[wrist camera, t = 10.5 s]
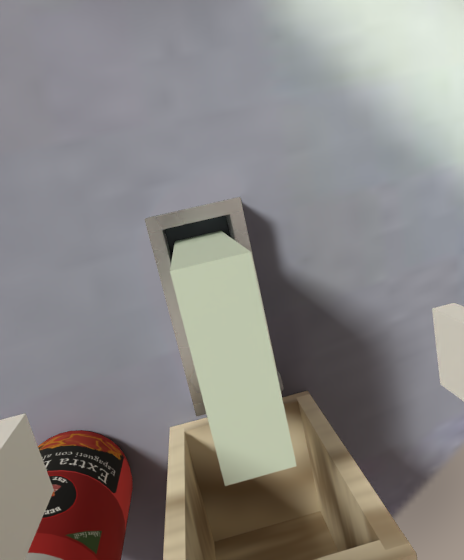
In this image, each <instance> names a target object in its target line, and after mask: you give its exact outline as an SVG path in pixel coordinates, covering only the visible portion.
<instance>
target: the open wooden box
mask: <svg viewBox="0 0 464 560" xmlns="http://www.w3.org/2000/svg"><path fill="white" fill-rule="evenodd" d="M282 400H283V404H284V409H285V414H286V419H287V423H288V428H289V433H290V437H291V442H292V447H293V451H294V456H295V461H296V465H297V466H295V467H292V468H288V469H285V470H281V471H278V472H274V473H270V474H267V475H263V476H260V477H256V478H253V479H249V480H245V481H242V482H238V483H235V484H231V485H228V486H225V484H224V480H223V476H222V472H221V468H220V464H219V461H218V457H217V453H216V449H215V445H214V441H213V437H212V433H211V429H210V425H209V422H208V418H203V419H200V420H196V421H192V422H188V423H185V424H181V425H177V426H173V427H170V437H169V456H168V475H167V494H166V513H165V532H164V551H163V560H417V555H416V552H415V551H414V549H413V548H412V546H411V545H410V543H409V542H408V540H407V539H406V537H405V536H404V534H403V533H402V531H401V530H400V528H399V527H398V525H397V524H396V522H395V521H394V519H393V518H392V516H391V515H390V513H389V512H388V510H387V509H386V507H385V506H384V504H383V503H382V501H381V500H380V498H379V497H378V495H377V494H376V492H375V491H374V489H373V488H372V486H371V485H370V483H369V482H368V480H367V479H366V477H365V476H364V474H363V473H362V471H361V470H360V468H359V467H358V465H357V464H356V462H355V461H354V459H353V458H352V456H351V455H350V453H349V452H348V450H347V449H346V447H345V446H344V445H343V443H342V442H341V440H340V439H339V437H338V436H337V434H336V433H335V431H334V430H333V428H332V427H331V425H330V424H329V422H328V421H327V419H326V418H325V416H324V415H323V413H322V412H321V410H320V409H319V407H318V406H317V404H316V403H315V401H314V400H313V398H312V397H311V395H310V394H309V392H308V391H305V392H301V393H297V394H293V395H290V396H286V397H282Z"/></svg>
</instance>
